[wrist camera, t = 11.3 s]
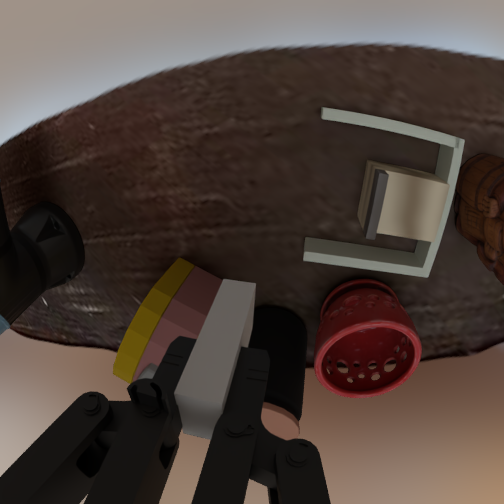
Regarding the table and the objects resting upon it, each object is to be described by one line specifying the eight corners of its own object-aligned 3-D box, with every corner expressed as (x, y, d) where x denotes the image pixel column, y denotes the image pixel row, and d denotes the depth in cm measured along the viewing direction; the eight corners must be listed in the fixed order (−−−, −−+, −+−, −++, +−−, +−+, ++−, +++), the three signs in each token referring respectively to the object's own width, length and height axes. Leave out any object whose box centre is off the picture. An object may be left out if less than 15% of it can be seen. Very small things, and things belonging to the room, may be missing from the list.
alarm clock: (199, 337, 51) (160, 426, 35) (156, 315, 50) (105, 396, 34) (235, 275, 44) (193, 375, 28) (183, 247, 43) (118, 334, 27)
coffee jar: (229, 309, 47) (193, 405, 31) (297, 297, 44) (286, 402, 28) (252, 357, 51) (229, 448, 35) (314, 349, 48) (308, 447, 32)
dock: (304, 245, 40) (303, 260, 36) (321, 106, 31) (323, 107, 28) (419, 261, 38) (427, 277, 34) (450, 135, 29) (464, 140, 26)
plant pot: (410, 321, 42) (428, 380, 32) (332, 347, 47) (333, 408, 37) (390, 252, 38) (413, 308, 27) (300, 286, 43) (295, 347, 32)
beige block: (356, 214, 37) (365, 238, 31) (366, 159, 33) (379, 173, 27) (421, 225, 36) (439, 250, 29) (434, 173, 32) (457, 190, 26)
